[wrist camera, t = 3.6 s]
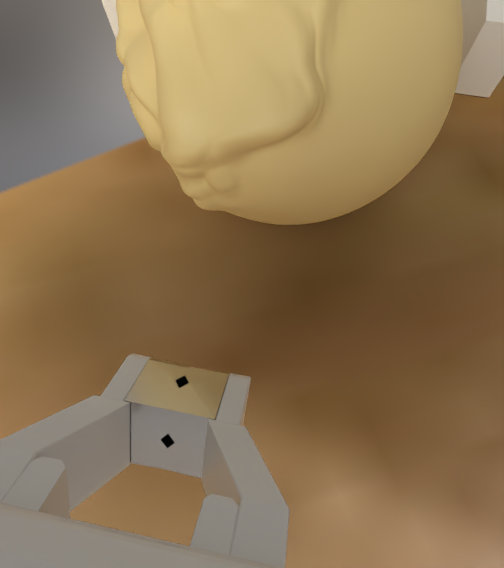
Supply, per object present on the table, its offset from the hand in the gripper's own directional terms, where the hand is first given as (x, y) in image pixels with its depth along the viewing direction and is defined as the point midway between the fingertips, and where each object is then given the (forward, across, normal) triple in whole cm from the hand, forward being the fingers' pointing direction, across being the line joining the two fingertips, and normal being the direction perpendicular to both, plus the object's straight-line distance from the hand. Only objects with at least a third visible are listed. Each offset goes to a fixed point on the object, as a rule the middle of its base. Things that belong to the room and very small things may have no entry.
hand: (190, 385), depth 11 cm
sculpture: (+14, 0, -4) cm, 14 cm away
